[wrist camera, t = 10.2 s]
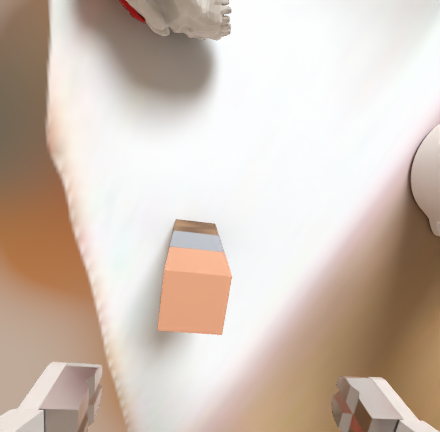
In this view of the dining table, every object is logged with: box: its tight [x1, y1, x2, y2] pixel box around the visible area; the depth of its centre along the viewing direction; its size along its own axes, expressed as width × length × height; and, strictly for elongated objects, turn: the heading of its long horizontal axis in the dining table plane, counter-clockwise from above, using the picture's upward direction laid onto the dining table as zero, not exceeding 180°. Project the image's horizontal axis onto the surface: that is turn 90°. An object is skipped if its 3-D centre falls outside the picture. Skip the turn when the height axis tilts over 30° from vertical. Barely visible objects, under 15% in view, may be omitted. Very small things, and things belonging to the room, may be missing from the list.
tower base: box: [173, 219, 219, 236], centre depth 32 cm, size 5×5×5 cm
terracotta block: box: [157, 247, 232, 335], centre depth 23 cm, size 5×5×5 cm
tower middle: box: [169, 231, 224, 252], centre depth 27 cm, size 5×5×5 cm
